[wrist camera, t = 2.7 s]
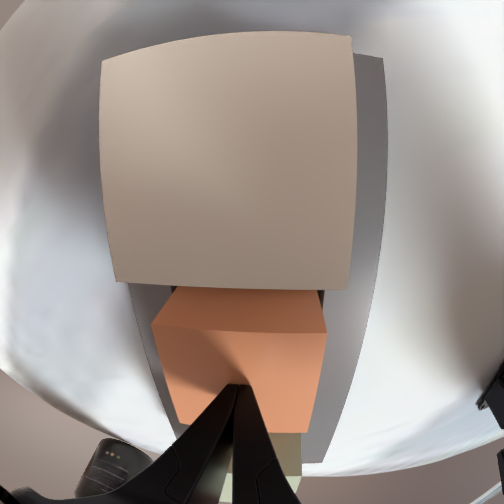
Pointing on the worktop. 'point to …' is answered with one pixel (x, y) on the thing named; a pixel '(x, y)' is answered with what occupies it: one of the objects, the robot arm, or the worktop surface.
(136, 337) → the worktop surface
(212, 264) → the cream button
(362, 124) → the console
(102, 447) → the supplement bottle
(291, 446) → the sage button
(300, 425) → the terracotta button
